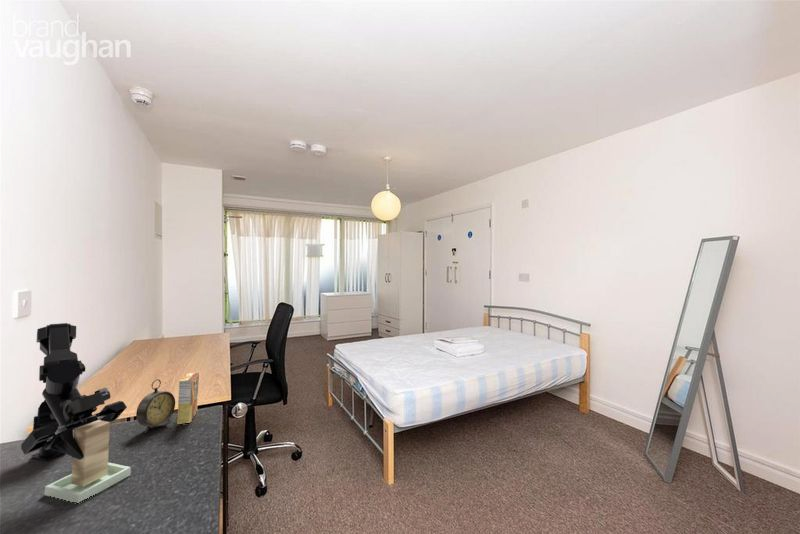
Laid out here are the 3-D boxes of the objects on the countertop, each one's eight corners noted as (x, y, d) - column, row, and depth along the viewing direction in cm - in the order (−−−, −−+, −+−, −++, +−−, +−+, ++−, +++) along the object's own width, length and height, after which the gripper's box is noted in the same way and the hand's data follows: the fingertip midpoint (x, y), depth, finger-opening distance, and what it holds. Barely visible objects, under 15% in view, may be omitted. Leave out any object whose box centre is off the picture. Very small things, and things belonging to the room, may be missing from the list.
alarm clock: (145, 436, 102) (147, 385, 103) (131, 434, 103) (133, 384, 104) (175, 421, 113) (177, 375, 113) (163, 419, 114) (164, 374, 114)
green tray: (44, 495, 74) (45, 486, 74) (99, 468, 85) (99, 460, 85) (78, 504, 72) (78, 495, 72) (130, 475, 82) (130, 467, 82)
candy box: (184, 415, 118) (186, 373, 118) (197, 413, 119) (199, 372, 120) (176, 425, 110) (178, 380, 110) (190, 424, 111) (192, 379, 111)
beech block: (71, 483, 76) (74, 428, 77) (95, 471, 81) (98, 420, 82) (83, 486, 75) (86, 431, 76) (107, 474, 80) (109, 422, 81)
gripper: (32, 394, 71) (64, 452, 68) (123, 371, 89) (152, 416, 86) (7, 425, 73) (37, 483, 70) (101, 396, 91) (128, 441, 88)
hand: (95, 452), depth 78 cm, fingers closed on beech block, 5 cm apart
